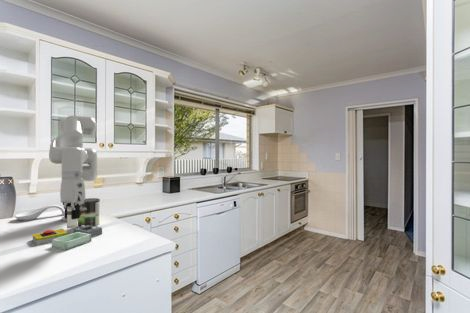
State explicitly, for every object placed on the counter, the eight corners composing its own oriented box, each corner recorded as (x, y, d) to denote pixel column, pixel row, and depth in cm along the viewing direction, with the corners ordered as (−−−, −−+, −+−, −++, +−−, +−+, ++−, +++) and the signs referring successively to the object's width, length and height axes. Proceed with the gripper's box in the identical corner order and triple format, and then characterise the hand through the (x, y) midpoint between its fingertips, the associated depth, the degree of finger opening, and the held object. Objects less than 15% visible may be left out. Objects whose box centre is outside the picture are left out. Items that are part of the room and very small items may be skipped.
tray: (77, 238, 111) (77, 231, 111) (91, 241, 108) (91, 234, 108) (51, 246, 101) (51, 239, 101) (66, 250, 98) (66, 242, 98)
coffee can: (86, 229, 124) (86, 202, 124) (73, 227, 128) (73, 200, 128) (104, 224, 133) (104, 198, 133) (91, 222, 137) (91, 197, 137)
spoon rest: (14, 223, 134) (14, 210, 134) (15, 219, 143) (15, 207, 143) (65, 216, 150) (65, 205, 150) (63, 213, 159) (63, 202, 159)
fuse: (73, 225, 106) (73, 205, 106) (79, 226, 105) (79, 205, 105) (64, 227, 103) (64, 206, 103) (70, 228, 102) (70, 207, 102)
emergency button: (27, 232, 107) (67, 225, 119) (27, 242, 107) (67, 233, 119) (32, 237, 101) (73, 229, 113) (32, 247, 101) (73, 238, 113)
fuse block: (87, 231, 122) (87, 223, 122) (102, 233, 118) (102, 225, 118) (74, 235, 115) (74, 227, 115) (88, 238, 111) (88, 230, 111)
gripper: (93, 175, 104) (93, 218, 104) (68, 174, 111) (68, 214, 111) (76, 177, 97) (76, 222, 97) (50, 175, 104) (50, 218, 104)
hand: (72, 217), depth 104 cm, fingers closed on fuse, 3 cm apart
